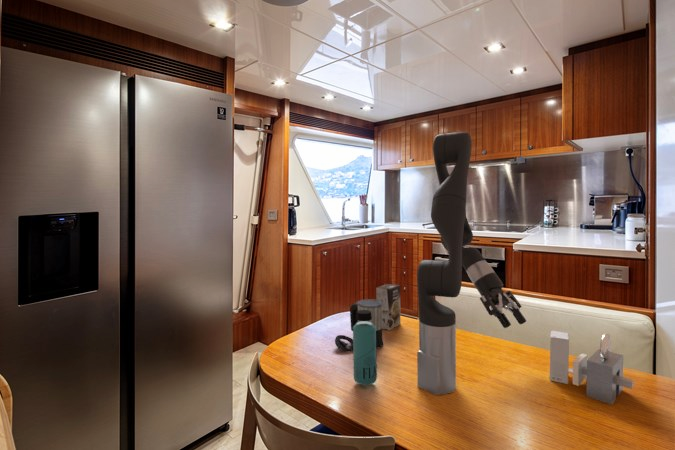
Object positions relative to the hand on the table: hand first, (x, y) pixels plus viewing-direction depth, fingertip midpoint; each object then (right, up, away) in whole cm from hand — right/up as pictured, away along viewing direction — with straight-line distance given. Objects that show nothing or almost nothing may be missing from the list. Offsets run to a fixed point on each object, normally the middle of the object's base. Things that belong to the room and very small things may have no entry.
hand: (516, 324), depth 101 cm
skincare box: (+8, -13, -7) cm, 17 cm away
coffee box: (-32, -11, +37) cm, 50 cm away
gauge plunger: (+16, -12, -13) cm, 24 cm away
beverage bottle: (-45, -14, -9) cm, 48 cm away
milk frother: (-45, -13, +17) cm, 50 cm away
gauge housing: (+12, -12, -10) cm, 20 cm away
